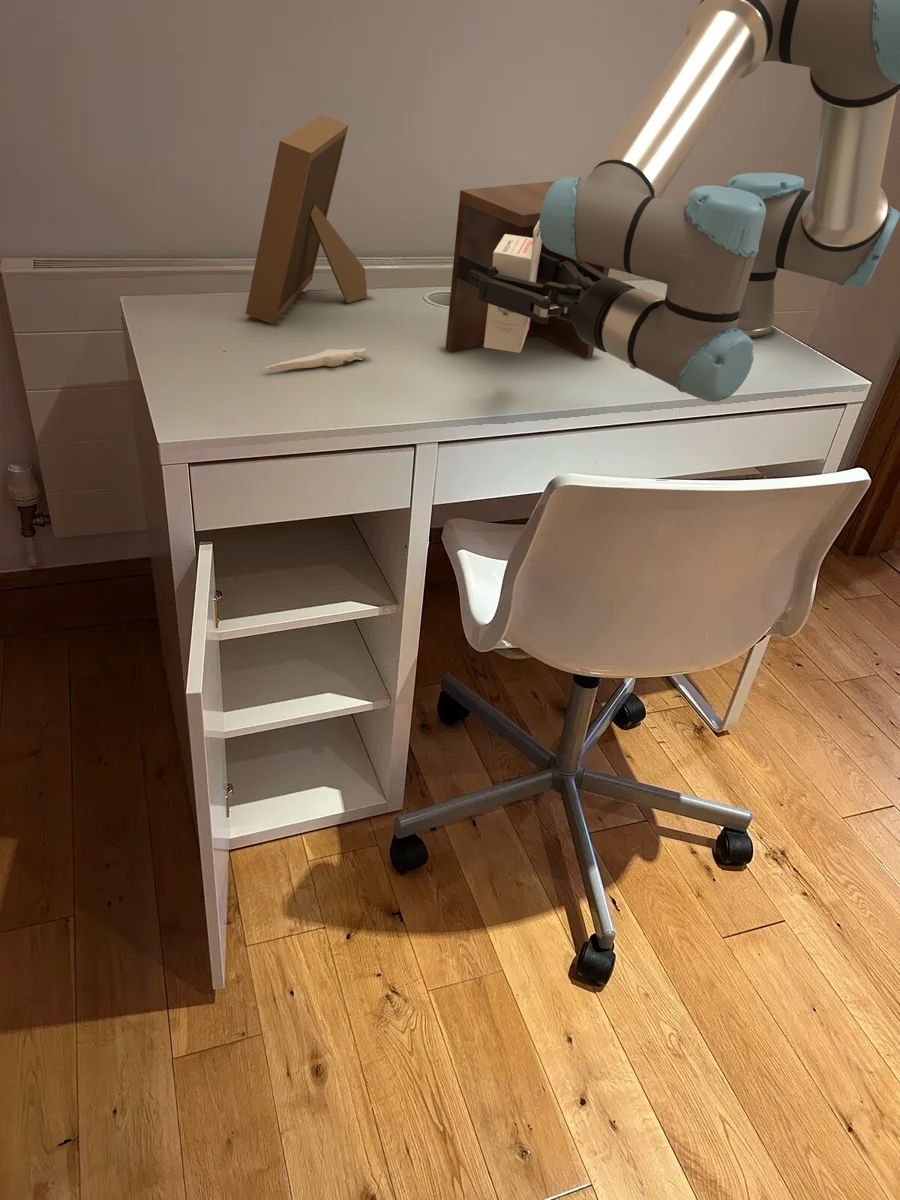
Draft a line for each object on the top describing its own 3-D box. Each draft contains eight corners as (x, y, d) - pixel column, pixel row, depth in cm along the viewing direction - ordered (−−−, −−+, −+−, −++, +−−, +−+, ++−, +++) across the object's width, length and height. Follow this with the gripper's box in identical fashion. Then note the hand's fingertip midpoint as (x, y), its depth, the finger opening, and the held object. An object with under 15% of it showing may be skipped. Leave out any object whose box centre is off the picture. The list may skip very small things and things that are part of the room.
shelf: (538, 329, 145) (561, 180, 132) (594, 358, 137) (625, 203, 124) (445, 349, 135) (460, 189, 122) (500, 381, 127) (522, 215, 114)
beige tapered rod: (361, 355, 130) (361, 342, 129) (370, 362, 128) (370, 349, 127) (262, 370, 123) (261, 357, 122) (270, 378, 121) (269, 364, 120)
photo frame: (245, 320, 137) (238, 135, 122) (287, 276, 154) (284, 109, 139) (343, 334, 136) (347, 149, 121) (373, 288, 153) (381, 122, 138)
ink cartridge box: (492, 324, 121) (506, 207, 112) (529, 330, 120) (547, 213, 112) (481, 347, 114) (495, 224, 105) (520, 354, 114) (538, 230, 105)
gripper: (544, 371, 98) (418, 303, 111) (678, 338, 110) (550, 280, 123) (556, 301, 93) (423, 238, 107) (694, 274, 105) (559, 221, 119)
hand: (491, 261), depth 115 cm, fingers closed on ink cartridge box, 9 cm apart
